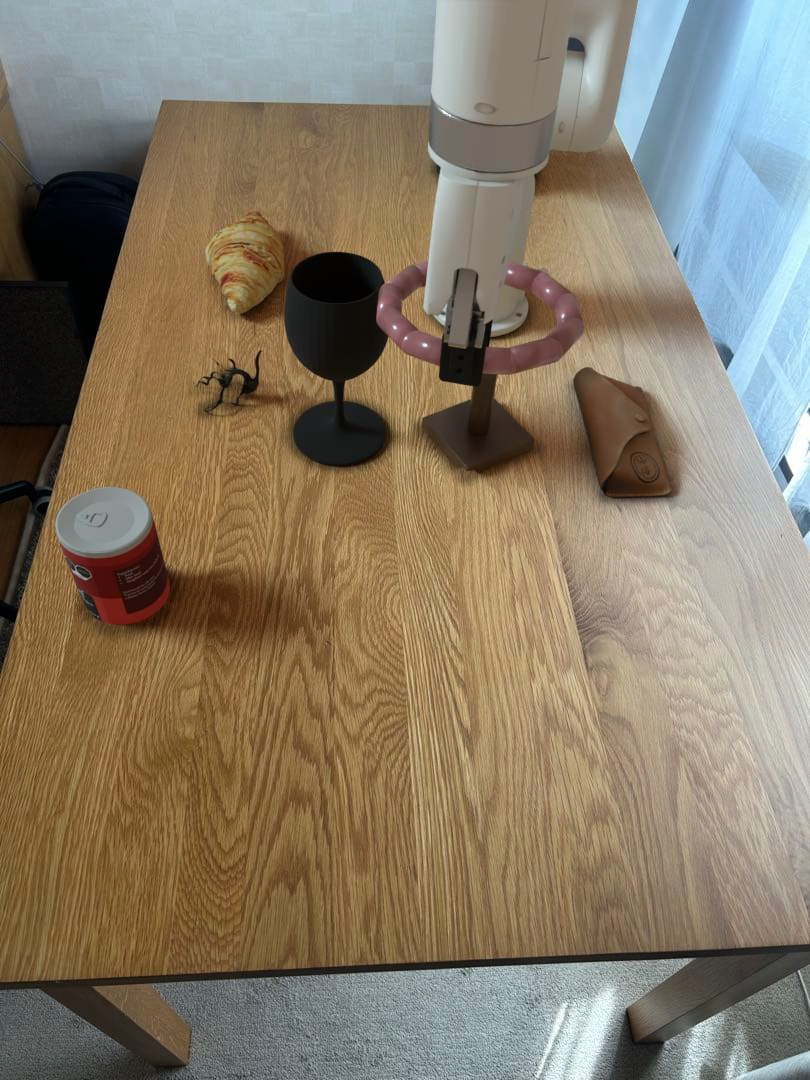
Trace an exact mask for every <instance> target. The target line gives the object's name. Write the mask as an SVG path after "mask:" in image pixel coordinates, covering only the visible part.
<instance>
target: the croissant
mask: <svg viewBox="0 0 810 1080" xmlns="http://www.w3.org/2000/svg"><path fill="white" fill-rule="evenodd" d="M204 250H205V251H204V255H205V256H204V257H205V259H206V264H207V265H208V266H209V267H210V269H211V270H210V271H211V276H212V278H213V279H214V280H215V281H217V283H218V284H219V286H220V291H221V293H222V296H224V297H225V298H226V300H227V306H228V307H229V309H230V311H231V313H234V314H237V315H238V314H239V315H241V314H243V313H247V312H249V311H250V310H251V309H252V308H254V307H255V306H256V307H257V305H259V304H261V302H263V301H264V299H265V298H266V297H268V296H269V295H270V294H271V293H272V292H273V291H274V289H275V288H276V286H277V285H278V284H280V283H281V282H282V281H283V280H284V277H285V254H284V245H283V242H282V239H281V237H280V234H279V232H278V231H277V229H275V228H274V227H273V226H272V224H270V223H269V222H268V220H267V219H266V218H265V217H264V216H262V214H261V213H260V212H259V211H249V212H248V213H247V214H246V215H245V216H244V217H242V218H241V219H240V220H239V221H237V222H233V223H231V224H228V225H227V226H225V227H224V228H222V229H220V230H219V231H218V232H217V234H215V235H213V237H212V238H211V240H210V241H209V243H208V244H207V245H206V247H205V249H204Z"/></svg>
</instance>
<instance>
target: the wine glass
mask: <svg viewBox="0 0 810 1080" xmlns="http://www.w3.org/2000/svg"><path fill="white" fill-rule="evenodd" d="M385 283H386V282H385V279H384V276H383V273H382V271H381V269H380V267H379V266H378V265H377V264H376V263H375V262H373V260H371V259H369V258H367V257H365V256H362V255H360V254H356V253H352V252H346V251H326V252H320V253H316V254H313V255H310V256H308V257H306V258H303V259H302V260H300V261H299V262H297V264H295V266H294V267H293V269H292V270H291V273H290V276H289V279H288V283H287V288H286V291H285V297H284V304H283V323H284V325H283V326H284V330H285V334H286V339H287V342H288V345H289V346H290V350H291V351H292V353H293V354H294V356H295V358H296V359H297V361H299V362H300V364H301V365H302V366H303V367H305V369H307V370H308V371H309V372H310V373H312V374H314V375H315V376H317V377H319V378H322V379H324V380H327V381H330V382H332V387H333V394H334V395H333V396H334V400H331V401H330V400H329V401H324V402H321V403H318V404H316V405H313V406H311V407H309V408H308V409H306V410H305V411H303V412H302V413H301V414H300V415H299V417H298V418H297V419H296V421H295V423H294V424H293V429H292V430H293V431H292V437H293V442H294V445H295V447H296V448H297V449H298V451H299V452H300V453H301V454H302V455H303V456H305V458H308V459H309V460H312V461H313V462H316V463H319V464H321V465H325V466H331V467H348V466H355V465H358V464H361V463H364V462H366V461H368V460H369V459H371V458H373V457H375V456H376V455H377V454H378V453H379V452H380V451H381V450H382V448H383V447H384V445H385V442H386V438H387V428H386V424H385V423H384V421H383V419H382V417H381V416H380V415H379V414H378V413H377V412H376V411H375V410H373V409H371V408H370V407H368V406H366V405H364V404H362V403H358V402H354V401H350V400H345V399H344V398H345V397H344V396H345V385H346V382H347V381H351V380H353V379H355V378H358V377H360V376H361V375H363V374H365V373H366V372H367V371H369V370H370V369H371V368H372V367H373V366H374V365H375V364H376V363H377V362H378V360H379V359H380V357H381V356H382V354H383V352H384V350H385V348H386V346H387V344H388V340H389V336H388V335H387V334H386V333H385V332H384V331H383V330H382V329H381V328H380V327H379V326H378V324H377V320H376V317H377V305H378V294H379V290H380V288H381V286H382V285H383V284H385Z"/></svg>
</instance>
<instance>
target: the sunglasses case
mask: <svg viewBox="0 0 810 1080" xmlns="http://www.w3.org/2000/svg"><path fill="white" fill-rule="evenodd" d="M572 382H573V387H574V391H575V396H576V400H577V402H578V407H579V411H580V415H581V417H582V422H583V425H584V429H585V434H586V436H587V440H588V445H589V449H590V453H591V457H592V461H593V466H594V470H595V475H596V479H597V482H598V483H597V484H598V486H599V488H600V491H601V492H602V493H603V494H604V496H606V497H607V498H620V499H621V498H625V499H626V498H627V499H635V498H652V497H653V498H654V497H655V498H656V497H664V496H668V495H671V494H672V492H673V488H672V483H671V479H670V476H669V473H668V469H667V466H666V464H665V461H664V458H663V455H662V451H661V448H660V445H659V443H658V439H657V436H656V433H655V429H654V425H653V422H652V419H651V416H650V412H649V409H648V406H647V401H646V397H645V393H644V389H643V387H641V386H634V385H631V384H628V383H626V382H623V381H620V380H618V379H615V378H612V377H609V376H607V375H604V374H601V373H599V372H598V371H596V370H595V369H594V368H592V366H591V367H590V366H585V367H582V368H581V369H579V370H578V371H577V372H576V374H575V375H574V376H573V381H572Z"/></svg>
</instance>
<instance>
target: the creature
mask: <svg viewBox="0 0 810 1080" xmlns="http://www.w3.org/2000/svg"><path fill="white" fill-rule="evenodd" d="M262 352H263V350H262V349H260V350H258V352H257V354H256V355H255V359H254V366H255V376H254V377H253V378H252V376H251V375H250V373H249V372H248V371H246V370H243V369H242V368H237V367H236V366H237V365H236V362H235V360H234V359H232V358H227V360H228V361H229V362H230V363H231V364H232V367H229V368H228V369H225V368H223V370H224V372H225V373H227V372H228V375H225V373H223V371H222V370H221V368H220V367H222V365H221V364H220V363H219V362H217V360H215V359H214V358H212V360H213V361H214V362H215V364H216V365H217V366H218V369H219V371H220V373H219V372H218V371H211V373H210V374H209V376H204V375H203V376H202V377H200V379H199V380H198V382H197V384H196V386H195V388H197V387H198V386H199V384H202V385H204V386H205V387H207V386H209V385H210V382H211V380H213V379H216V381H217V382H218V383H219V385H220V387H221V389H220V392H219V397H218V400H217V401H216V402H214V403H212V404H210V405H208V406H205V408H204V409H203V411H204V412H205V413H208V412H211V411H213V410H215V409H216V408H217V407H219V406H220V405H221V404H222V403H223V397H224V391H225V389H227V388H229V387H230V386H232V385H233V383H231V382H232V381H233V377H234V376H235V375H240V376H242V378H243V382H242V383H240V382H237V384H240V386H241V387H242V388H241V390H240V393H239V395H238V396H237V397H236V398H235V402H228V403H225V402H224V404H225V405H230V404H231V405H233V406H239V404H240V402H239V401H240V398H241V397H242V395H245V394H246V396H249V394H251V393H254V392H255V391H257V389H258V386H259V383H260V378H259V377H260V362H259V361H260V356H261V353H262ZM214 374H218V375H219V376H220V377H218V378H217V377H215V376H214ZM202 379H205V380H207V381H206V382H205V381H203V380H202ZM213 405H214V406H213ZM211 406H213V407H212V408H210V409H209V410H206V409H207V408H208V407H211Z"/></svg>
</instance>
